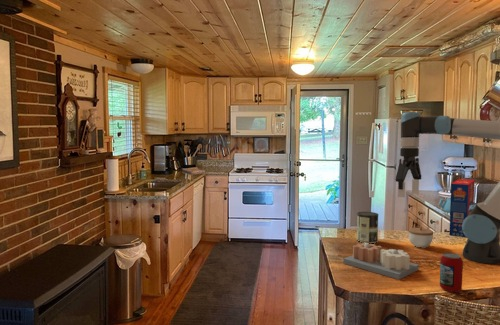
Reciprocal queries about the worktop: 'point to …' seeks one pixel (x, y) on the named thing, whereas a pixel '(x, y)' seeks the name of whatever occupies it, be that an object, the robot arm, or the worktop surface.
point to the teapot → (445, 205)
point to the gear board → (379, 268)
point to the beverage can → (451, 272)
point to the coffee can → (367, 227)
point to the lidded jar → (420, 237)
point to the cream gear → (394, 259)
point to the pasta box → (460, 205)
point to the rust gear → (366, 252)
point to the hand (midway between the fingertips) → (408, 195)
